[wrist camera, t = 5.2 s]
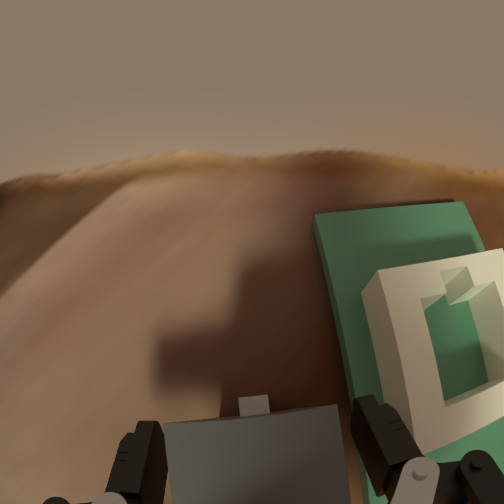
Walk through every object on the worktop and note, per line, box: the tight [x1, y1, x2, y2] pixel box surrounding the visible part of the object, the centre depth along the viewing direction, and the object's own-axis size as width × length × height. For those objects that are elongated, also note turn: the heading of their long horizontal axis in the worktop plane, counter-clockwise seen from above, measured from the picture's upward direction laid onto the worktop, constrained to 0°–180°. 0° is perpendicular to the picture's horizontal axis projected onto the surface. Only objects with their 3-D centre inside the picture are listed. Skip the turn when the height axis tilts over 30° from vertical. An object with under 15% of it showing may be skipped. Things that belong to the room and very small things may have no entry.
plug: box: [163, 394, 351, 504], centre depth 10 cm, size 4×5×10 cm
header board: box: [312, 202, 504, 504], centre depth 14 cm, size 12×20×4 cm, turn 7°
